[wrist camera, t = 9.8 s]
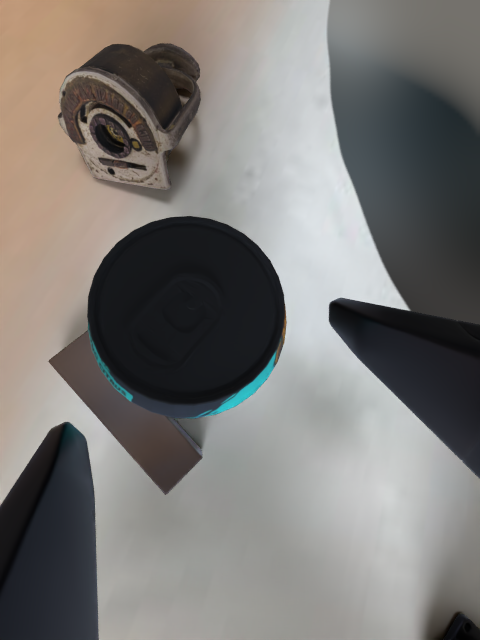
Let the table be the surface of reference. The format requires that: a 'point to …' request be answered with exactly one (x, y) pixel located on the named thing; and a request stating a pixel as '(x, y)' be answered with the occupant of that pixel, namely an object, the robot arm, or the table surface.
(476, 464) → the robot arm
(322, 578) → the table surface
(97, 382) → the brown box
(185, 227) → the beverage can
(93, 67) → the mechanical counter
